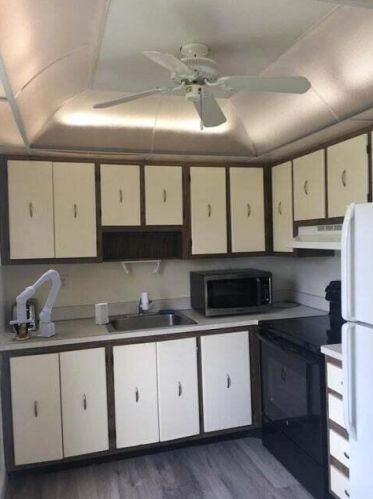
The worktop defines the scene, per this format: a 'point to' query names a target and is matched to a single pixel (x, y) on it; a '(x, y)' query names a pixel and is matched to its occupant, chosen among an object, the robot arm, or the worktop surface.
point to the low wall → (27, 334)
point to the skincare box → (101, 313)
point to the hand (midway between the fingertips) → (22, 334)
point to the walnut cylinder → (22, 332)
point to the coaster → (22, 338)
